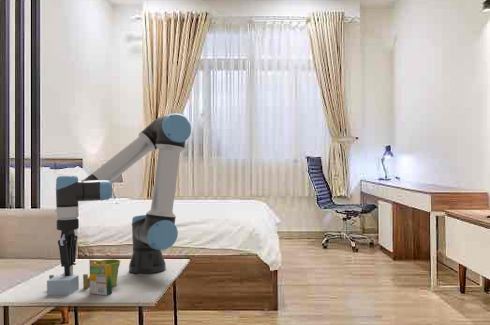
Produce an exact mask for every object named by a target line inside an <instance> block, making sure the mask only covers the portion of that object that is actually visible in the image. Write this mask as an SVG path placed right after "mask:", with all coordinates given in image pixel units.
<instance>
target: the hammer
mask: <svg viewBox="0 0 490 325" xmlns="http://www.w3.org/2000/svg"><path fill="white" fill-rule="evenodd" d="M59 276H64V272H63V273H62V274H59ZM53 277H55V275H54V274H49V276H48V278H49V279H51V278H53ZM49 279H48V280H49ZM82 279H83V280H82V281H83V282H82V283H83V290H88V289H90V275H89V274H88V273H84V274H82Z"/></svg>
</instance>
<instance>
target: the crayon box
mask: <svg viewBox="0 0 490 325" xmlns="http://www.w3.org/2000/svg"><path fill="white" fill-rule="evenodd" d="M88 261H89V264H88V265H89V276H90V287H89V294H90V295H91V294H92V295H93V294H94V295H102V296H108V295H111V294H113V292H112V291H113V290H112V288H113V286H112V279H111V265H106V261H100V260H99V259H98V260H96V259H95V260H94V259H89V260H88ZM94 262H100V263H101V264H94Z"/></svg>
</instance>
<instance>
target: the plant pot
mask: <svg viewBox="0 0 490 325" xmlns="http://www.w3.org/2000/svg"><path fill="white" fill-rule="evenodd" d="M100 261H106V265H111V279H112V287H115V286H116V285H117V283H118V274H119V267H120V266H121V265H120V263H121V262H122V261H121V260H120V259H114V258H113V259H111V258H110V259H101V260H100ZM94 264H101V263H100V262H94Z"/></svg>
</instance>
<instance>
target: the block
mask: <svg viewBox="0 0 490 325" xmlns="http://www.w3.org/2000/svg"><path fill="white" fill-rule="evenodd" d="M79 277H80V276H79V275H78V274H76V275H74V274H73V275H69V276H60V275H54V277H53V278H51V279H48V280H46V294H47V296H59V295H60V296H62V295H68V296H69V295H72V294H74V292H76V291H78V290H79V288H80V285H79V280H80V279H79Z"/></svg>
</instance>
